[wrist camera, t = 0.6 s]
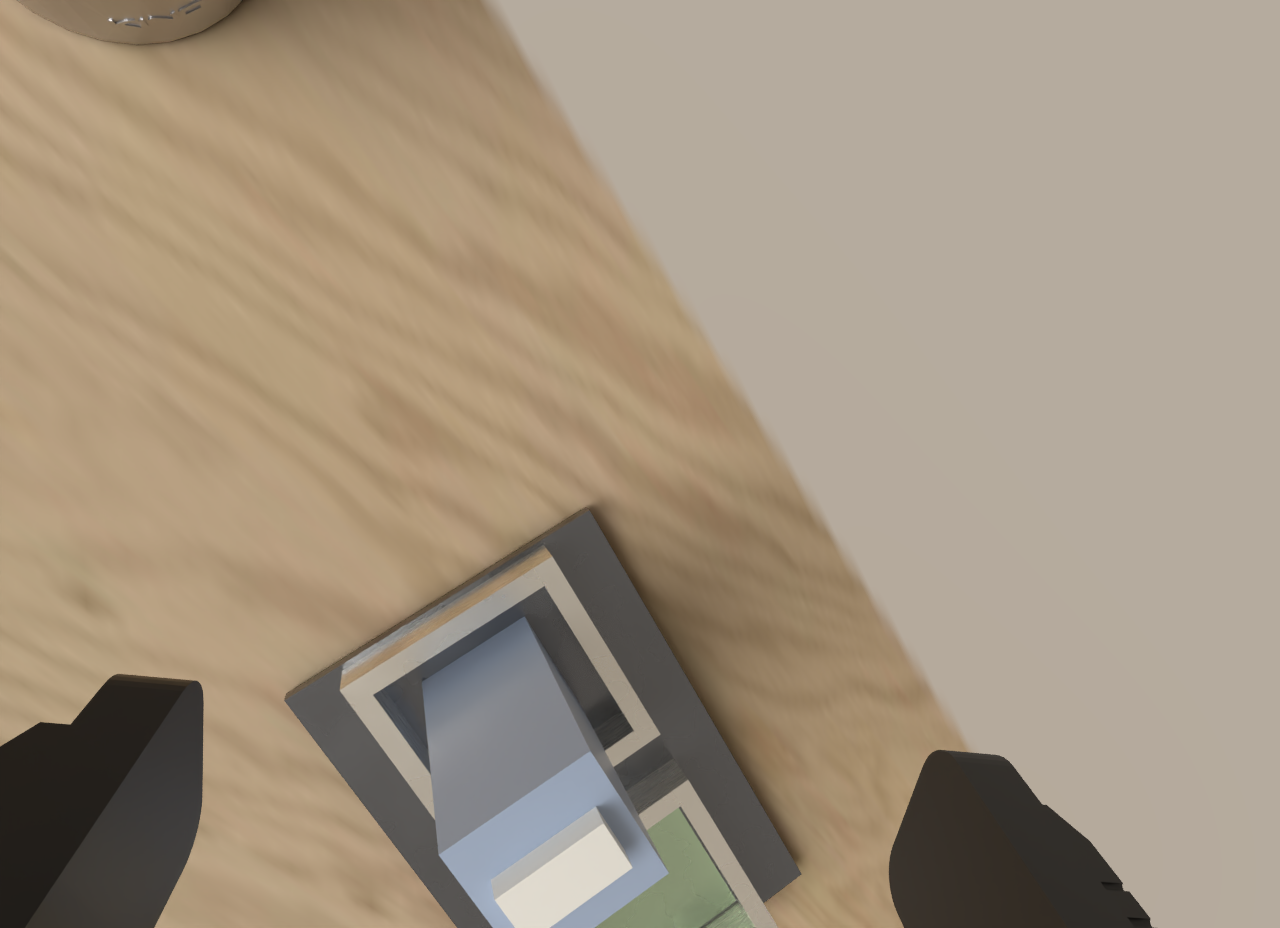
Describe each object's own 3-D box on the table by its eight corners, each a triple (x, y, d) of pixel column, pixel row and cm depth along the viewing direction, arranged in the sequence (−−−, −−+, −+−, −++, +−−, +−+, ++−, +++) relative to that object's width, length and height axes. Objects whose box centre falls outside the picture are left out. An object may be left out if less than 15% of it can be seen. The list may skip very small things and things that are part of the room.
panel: (286, 693, 30) (278, 722, 28) (585, 507, 33) (600, 519, 30) (554, 1047, 36) (565, 1095, 33) (795, 866, 38) (821, 899, 36)
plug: (421, 681, 31) (440, 874, 20) (524, 616, 32) (597, 765, 21) (483, 770, 32) (533, 998, 21) (580, 704, 33) (678, 891, 22)
